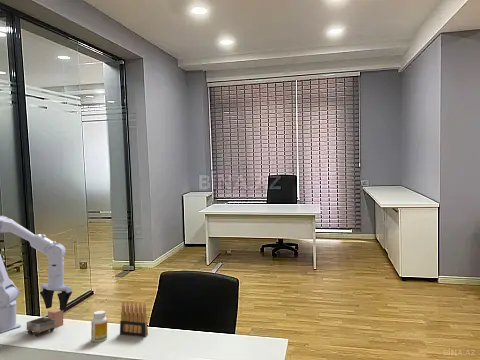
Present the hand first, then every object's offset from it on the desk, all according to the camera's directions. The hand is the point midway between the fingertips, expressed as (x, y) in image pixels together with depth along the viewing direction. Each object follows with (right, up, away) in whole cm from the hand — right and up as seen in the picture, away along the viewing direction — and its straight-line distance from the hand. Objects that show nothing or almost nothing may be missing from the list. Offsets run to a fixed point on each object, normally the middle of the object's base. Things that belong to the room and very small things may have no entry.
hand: (55, 309), depth 152 cm
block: (0, -7, 0) cm, 7 cm away
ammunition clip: (+34, -6, -10) cm, 36 cm away
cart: (-2, -6, -8) cm, 10 cm away
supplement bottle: (+23, -6, -15) cm, 28 cm away
